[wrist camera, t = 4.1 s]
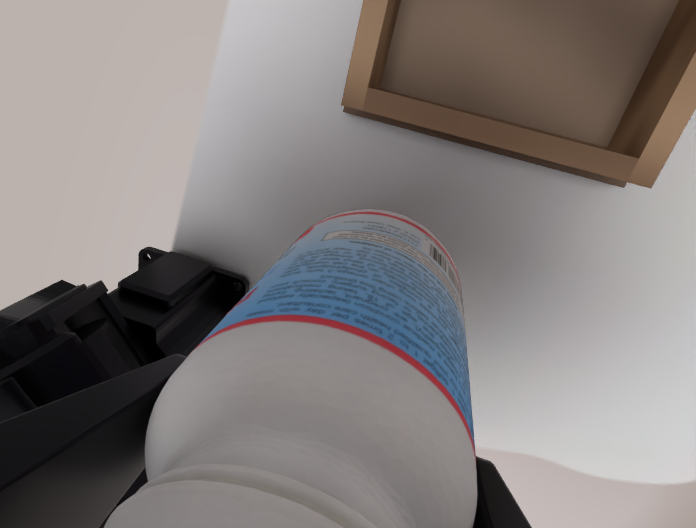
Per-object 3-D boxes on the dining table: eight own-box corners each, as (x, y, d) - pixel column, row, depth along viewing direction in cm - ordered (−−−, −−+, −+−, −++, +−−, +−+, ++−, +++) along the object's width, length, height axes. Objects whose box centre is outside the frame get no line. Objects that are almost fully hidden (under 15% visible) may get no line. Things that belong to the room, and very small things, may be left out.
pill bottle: (280, 204, 14) (-117, 482, 4) (465, 203, 13) (544, 606, 3) (298, 354, 17) (68, 772, 6) (457, 366, 15) (484, 914, 5)
